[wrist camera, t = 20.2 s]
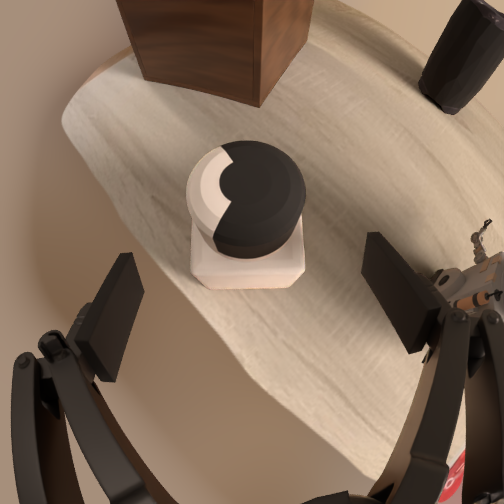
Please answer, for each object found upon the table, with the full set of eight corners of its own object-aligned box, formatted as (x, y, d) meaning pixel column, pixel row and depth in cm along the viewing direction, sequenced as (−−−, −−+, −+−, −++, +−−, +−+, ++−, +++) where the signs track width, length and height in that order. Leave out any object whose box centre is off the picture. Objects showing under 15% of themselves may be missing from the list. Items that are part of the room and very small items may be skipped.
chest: (259, 108, 29) (263, -2, 15) (144, 80, 31) (114, -5, 17) (307, 40, 33) (320, -37, 19) (210, 20, 35) (203, -49, 21)
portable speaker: (462, 99, 31) (517, 23, 13) (456, 128, 30) (527, 40, 11) (421, 69, 33) (465, -16, 14) (409, 92, 31) (465, -9, 12)
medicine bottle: (286, 209, 26) (310, 125, 14) (290, 288, 24) (327, 252, 12) (208, 211, 26) (179, 128, 14) (206, 289, 24) (166, 256, 12)
